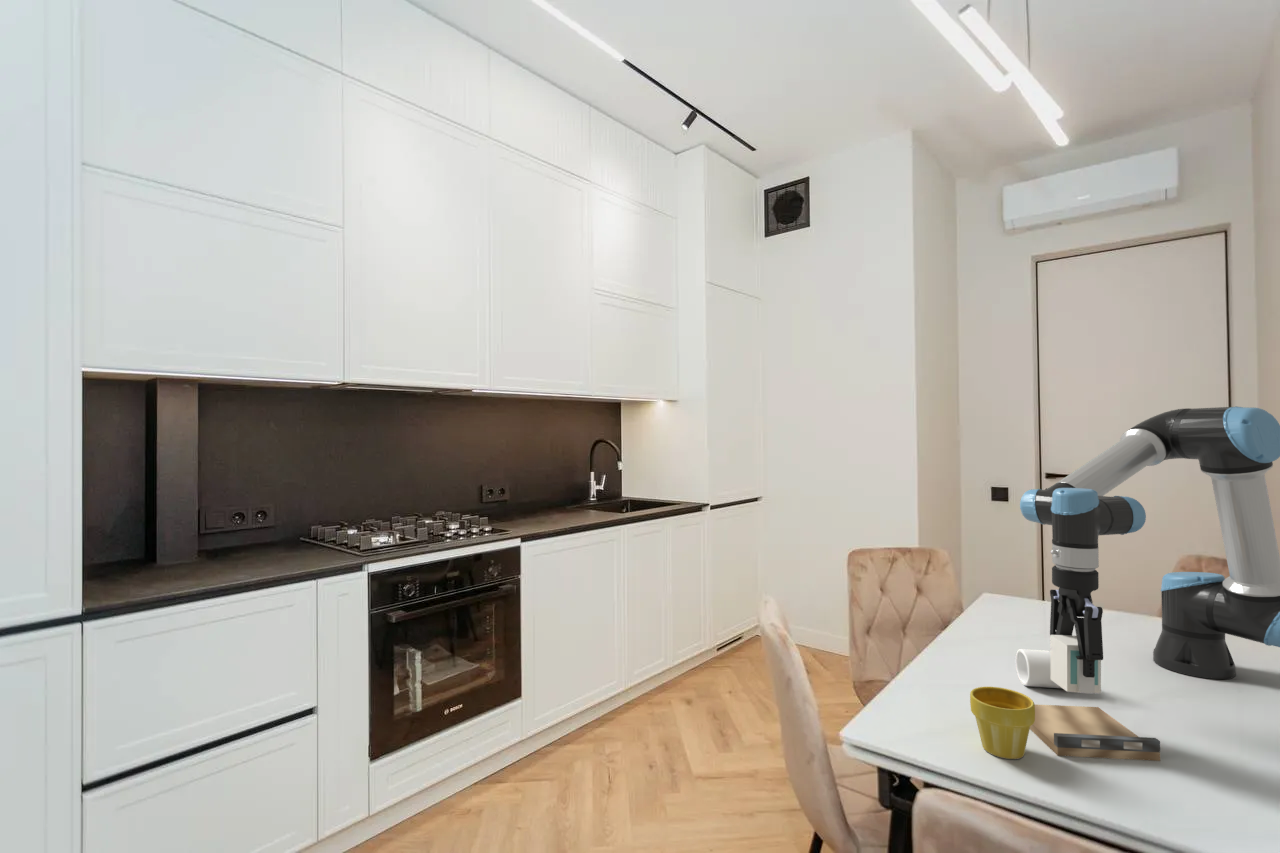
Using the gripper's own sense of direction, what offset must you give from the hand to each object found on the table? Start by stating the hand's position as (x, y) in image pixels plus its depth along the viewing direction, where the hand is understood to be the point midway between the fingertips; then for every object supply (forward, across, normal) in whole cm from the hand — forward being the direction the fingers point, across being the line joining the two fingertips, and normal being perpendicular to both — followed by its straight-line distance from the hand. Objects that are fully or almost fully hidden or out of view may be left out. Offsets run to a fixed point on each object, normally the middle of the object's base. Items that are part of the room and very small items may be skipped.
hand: (1075, 684), depth 122 cm
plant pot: (+9, +10, -18) cm, 22 cm away
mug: (+9, -23, +5) cm, 25 cm away
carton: (0, 0, 0) cm, 0 cm away
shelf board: (+9, +2, 0) cm, 9 cm away
